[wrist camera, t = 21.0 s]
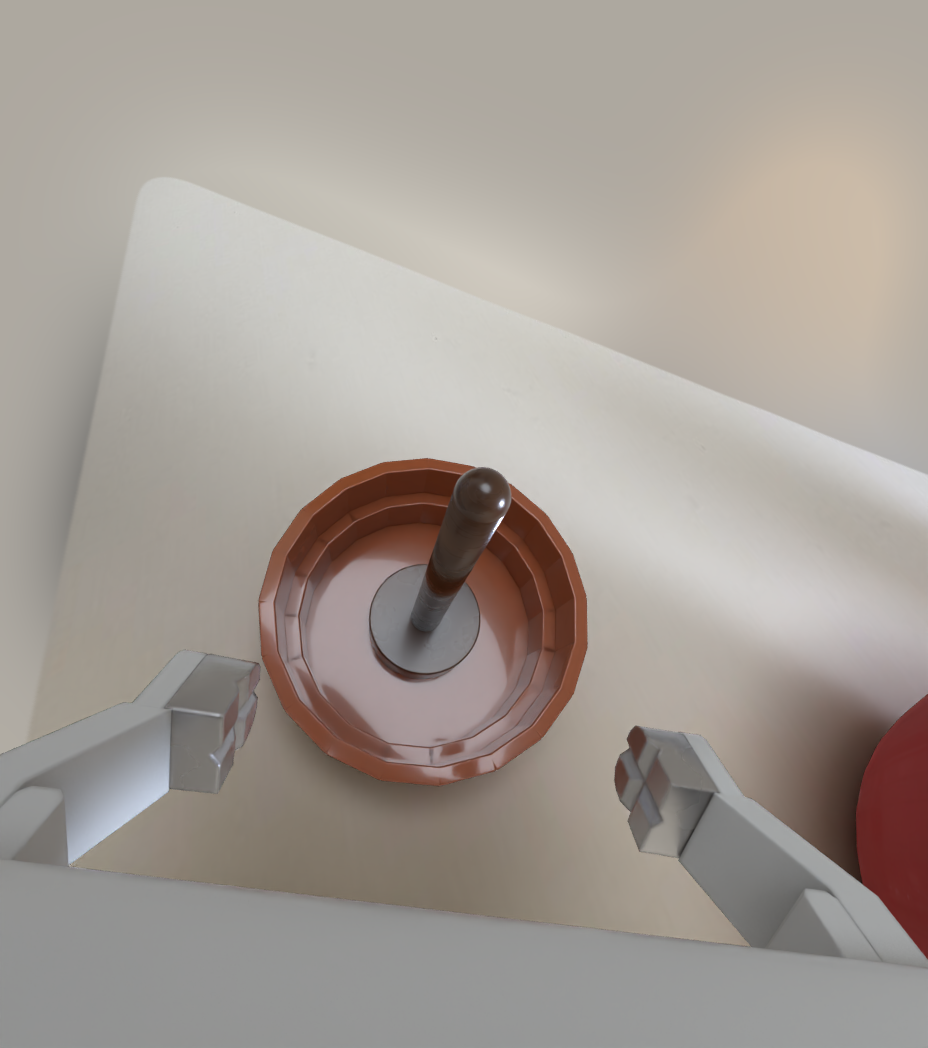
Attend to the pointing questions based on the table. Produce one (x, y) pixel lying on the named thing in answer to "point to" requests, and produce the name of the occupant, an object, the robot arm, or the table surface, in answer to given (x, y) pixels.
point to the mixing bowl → (898, 823)
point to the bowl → (382, 694)
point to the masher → (440, 585)
